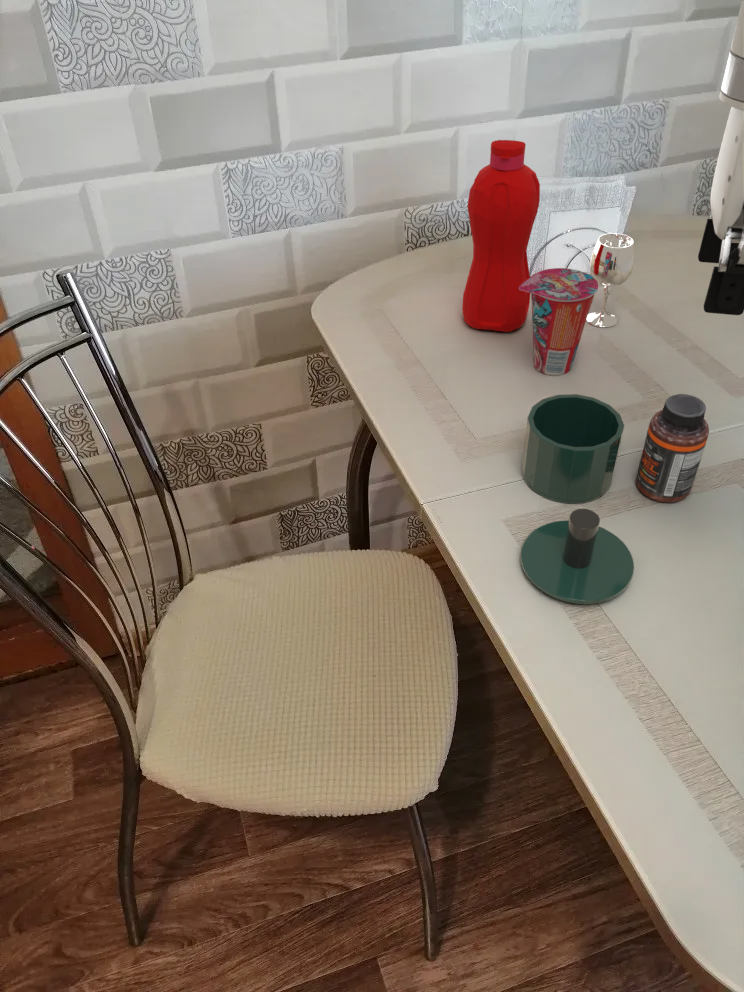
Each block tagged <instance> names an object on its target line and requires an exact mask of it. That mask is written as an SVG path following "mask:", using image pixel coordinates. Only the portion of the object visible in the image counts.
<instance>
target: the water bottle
mask: <svg viewBox="0 0 744 992" xmlns="http://www.w3.org/2000/svg"><path fill="white" fill-rule="evenodd" d="M526 145H527V144H526V143H525V142H524V141H520V140H513V139H511V140H510V139H498V140H497V139H496V140H493V141H492V142H491V143H490V158H489V164H487V165H485V166H483V167H482V168H481V169H480V170H479V171H478V173H477V175H476V176H475V178H474V181H473V184H472V185H471V187H470V189H469V193H468V200H467V213H468V219H469V226H470V232H471V238H472V246H473V247H472V248H473V250H472V261H471V265H470V268H469V271H468V276H467V279H466V283H465V287H464V291H463V294H462V305H461V306H462V308H461V310H462V316H463V320H464V322H465V324H467V325H468V326H469V327H471V328H473V329H477V330H487V331H496V332H505V333H509V332H512V331H515V330H517V329H519V328H521V327H522V326H523V325H524V324H525V322H526V320H527V318H528V317H527V316H528V312H529V309H530V303H531V293H530V292H526V291H522V290H519V286H520V285H521V284H522V283H523V282H525V281H526V280H527V279H528V278H530V277H531V275H530V269H529V260H528V252H527V250H528V246H529V242H530V239H531V234H532V230H533V227H534V224H535V221H536V218H537V215H538V211H539V207H540V201H541V199H540V195H541V184H540V181H539V179H538V176H537V173H536V171H534V170H533V169H532V168H531V167H529V166H528V165H526V164H525V156H526V155H525V154H526Z"/></svg>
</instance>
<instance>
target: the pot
mask: <svg viewBox="0 0 744 992" xmlns="http://www.w3.org/2000/svg"><path fill="white" fill-rule="evenodd" d="M525 426H526V427H525V435H524V436H525V437H524V443H523V444H524V445H523V452H522V460H521V461H522V462H521V470H522V471H521V474H522V478H523V480H524V482H525V484H526V485H527V486H528V487H529V488H530V489H531V490H532V491H533V492H534V493H535V494H537V495H539V496H540V497H542V498H545V499H548V500H550V501H553V502H557V503H562V504H585V503H590V502H592V501H595V500H597V499H599V498H601V497H602V496H604V495H605V494H606V493H607V492H608V491H609V490H610V488H611V485H612V483H613V479H614V475H615V471H616V465H617V461H618V457H619V453H620V452H619V451H620V448H621V443H622V440H623V436H624V435H623V434H624V430H625V423H624V421H623V418H622V416H621V414H620V413H619V412H618V411H617V410H616V409H615V408H613V406H611V405H610V404H608V403H607V402H604V401H602V400H600V399H598V398H595V397H592V396H588V395H582V394H576V393H575V394H573V393H572V394H571V393H570V394H557V395H553V396H549V397H545V398H542V399H541V400H540V401H538V402H537V403H536V404H533V406H531V408H530V410H529V412H528V415H527V420H526V425H525Z"/></svg>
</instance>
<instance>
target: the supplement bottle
mask: <svg viewBox="0 0 744 992" xmlns="http://www.w3.org/2000/svg"><path fill="white" fill-rule="evenodd" d="M706 410H707V405H706V404H705V402H704V401H703V400H702V399H701V398H699V397H697V396H696V395H692V394H687V393H676V394H672V395H669V396H668V397H667V398H666V399H665V402H664V405H663V407H662V409H661V410H658V411H657V412H656V413H655V414H653V415H652V417H651V419H650V421H649V424H648V428H647V431H646V436H645V439H644V444H643V448H642V452H641V455H640V459H639V464H638V467H637V471H636V477H635V485H636V486H637V489H638V490H639V491H640V492H641V494H643V495H644V496H645V497H647V498H649V499H651V500H653V501H656V502H659V503H676V502H680V501H682V500H684V499H686V498H687V497H688V496H689V495H690V493H691V490H692V488H693V485H694V482H695V479H696V476H697V473H698V470H699V466H700V464H701V461H702V457H703V454H704V451H705V448H706V446H707V445H706V444H707V442H708V438H709V434H710V427H709V424H708V421H707V420H706V419H705V415H706V412H707V411H706Z"/></svg>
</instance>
